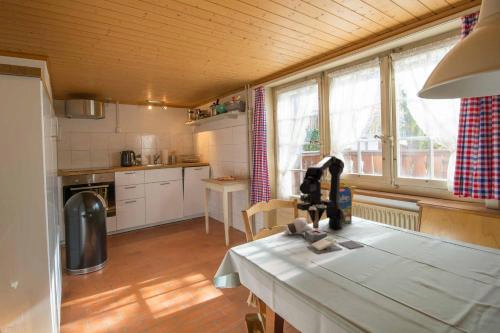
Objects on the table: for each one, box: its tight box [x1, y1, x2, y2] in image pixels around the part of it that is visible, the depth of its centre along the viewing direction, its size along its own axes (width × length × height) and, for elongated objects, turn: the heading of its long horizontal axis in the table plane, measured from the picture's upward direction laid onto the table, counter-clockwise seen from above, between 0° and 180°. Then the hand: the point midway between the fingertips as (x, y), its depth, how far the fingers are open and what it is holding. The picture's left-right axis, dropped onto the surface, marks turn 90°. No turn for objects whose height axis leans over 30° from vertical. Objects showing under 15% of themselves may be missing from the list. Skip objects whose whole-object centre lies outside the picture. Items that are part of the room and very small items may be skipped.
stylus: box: [312, 209, 320, 230], centre depth 131 cm, size 3×3×9 cm
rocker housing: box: [306, 243, 343, 255], centre depth 120 cm, size 13×9×2 cm
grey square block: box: [304, 228, 328, 244], centre depth 131 cm, size 8×8×4 cm
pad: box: [338, 240, 365, 250], centre depth 123 cm, size 8×8×1 cm
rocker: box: [311, 235, 338, 251], centre depth 120 cm, size 10×6×1 cm, turn 109°
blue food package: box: [328, 182, 353, 225], centre depth 159 cm, size 6×12×25 cm, turn 106°
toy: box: [282, 217, 314, 236], centre depth 141 cm, size 13×9×15 cm
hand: (315, 221), depth 131 cm, fingers closed on stylus, 3 cm apart
